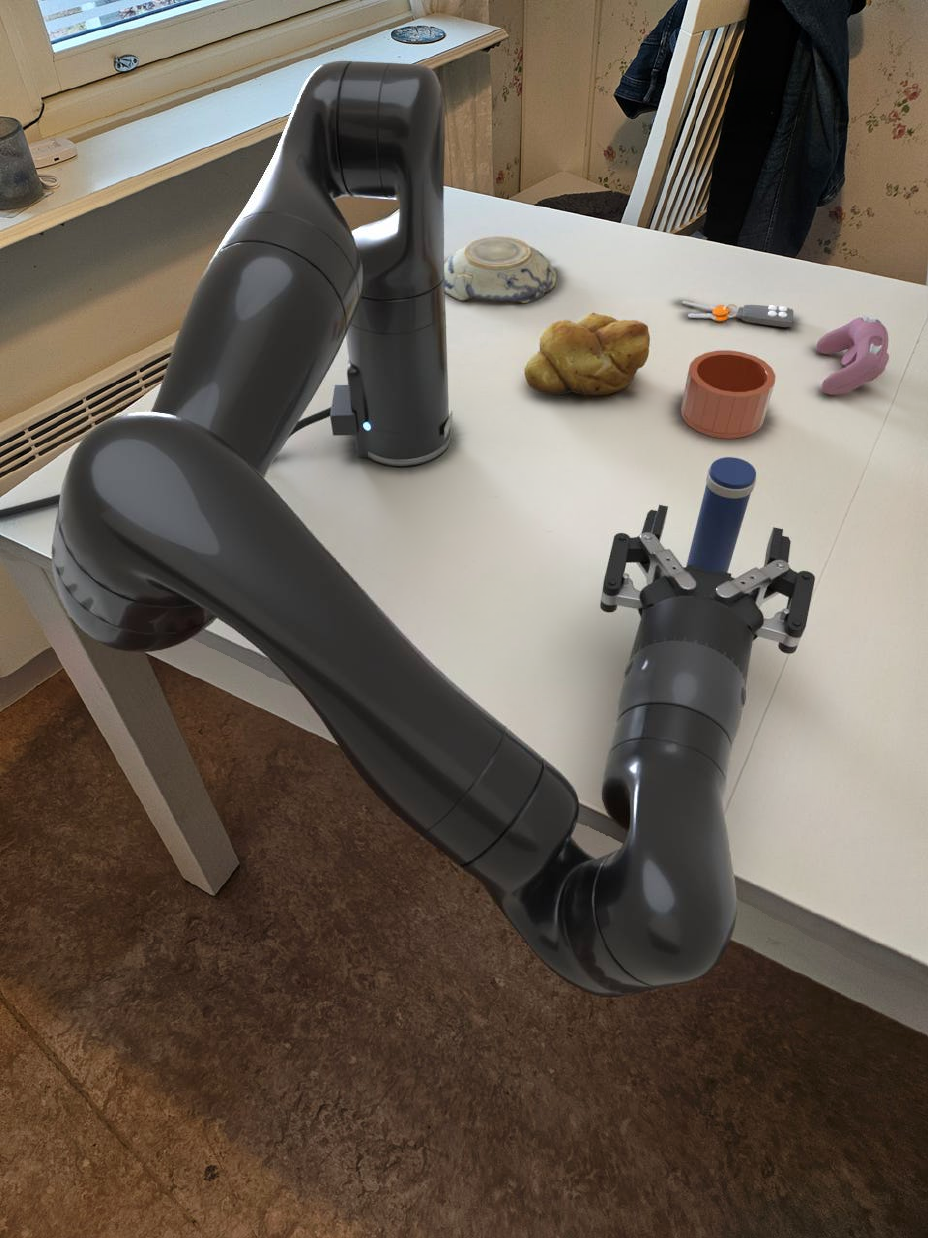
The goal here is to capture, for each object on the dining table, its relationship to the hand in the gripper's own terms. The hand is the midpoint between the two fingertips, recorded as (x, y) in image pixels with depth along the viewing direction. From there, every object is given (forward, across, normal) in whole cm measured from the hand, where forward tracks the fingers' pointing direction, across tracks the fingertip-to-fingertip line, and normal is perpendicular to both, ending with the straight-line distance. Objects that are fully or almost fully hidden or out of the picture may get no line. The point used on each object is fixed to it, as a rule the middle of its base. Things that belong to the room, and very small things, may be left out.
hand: (718, 525), depth 66 cm
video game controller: (+39, +10, -9) cm, 41 cm away
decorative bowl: (+49, -33, -9) cm, 60 cm away
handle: (0, 0, -8) cm, 8 cm away
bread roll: (+29, -17, -9) cm, 35 cm away
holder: (+28, -2, -8) cm, 29 cm away
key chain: (+48, -3, -9) cm, 49 cm away
